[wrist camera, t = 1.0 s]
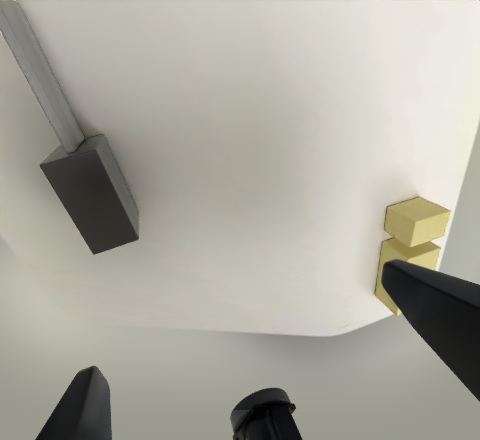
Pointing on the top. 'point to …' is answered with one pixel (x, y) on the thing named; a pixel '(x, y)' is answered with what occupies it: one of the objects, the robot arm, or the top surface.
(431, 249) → the butter stick
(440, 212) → the butter pat
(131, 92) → the top surface
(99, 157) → the knife
